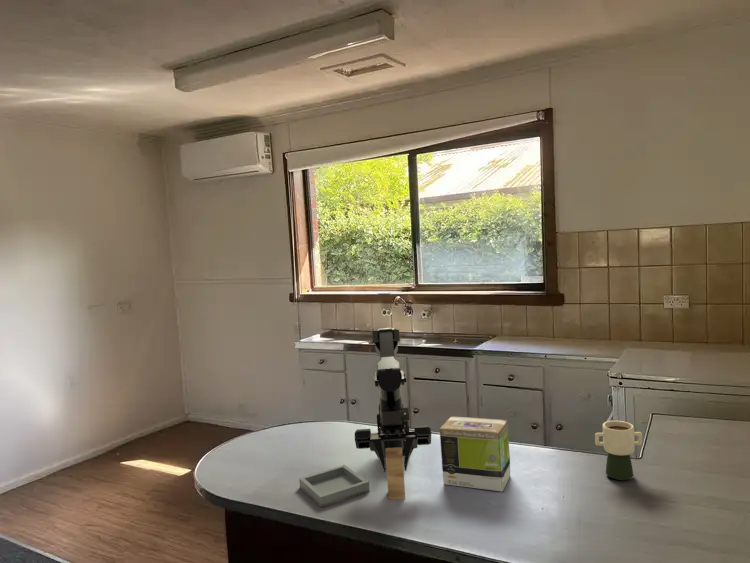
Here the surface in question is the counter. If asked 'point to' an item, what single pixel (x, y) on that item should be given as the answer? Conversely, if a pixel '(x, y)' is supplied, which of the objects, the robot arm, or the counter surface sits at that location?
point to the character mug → (618, 448)
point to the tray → (333, 485)
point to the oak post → (395, 473)
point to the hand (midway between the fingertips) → (395, 470)
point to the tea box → (475, 453)
